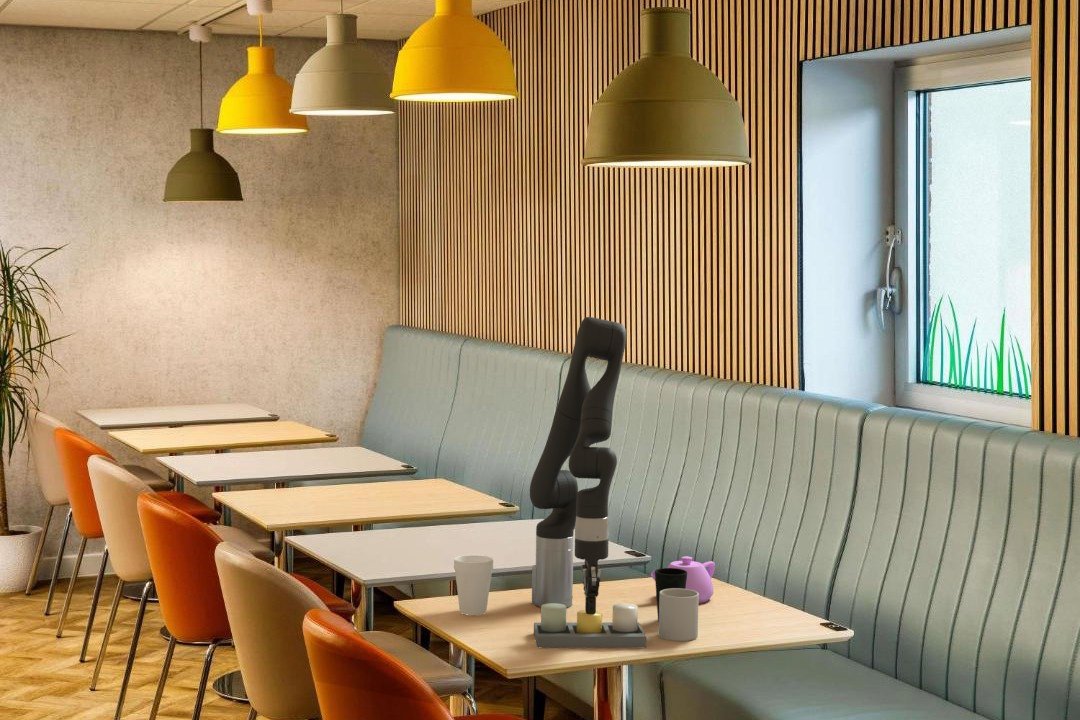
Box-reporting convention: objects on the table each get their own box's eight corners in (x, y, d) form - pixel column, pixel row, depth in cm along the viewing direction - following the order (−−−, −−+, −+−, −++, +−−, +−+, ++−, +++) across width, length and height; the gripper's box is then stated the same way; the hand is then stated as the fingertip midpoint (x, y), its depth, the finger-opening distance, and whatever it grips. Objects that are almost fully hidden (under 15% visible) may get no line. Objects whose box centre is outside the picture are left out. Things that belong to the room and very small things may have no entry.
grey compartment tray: (537, 647, 299) (537, 636, 299) (533, 633, 311) (533, 622, 311) (646, 647, 300) (646, 636, 300) (638, 633, 312) (638, 622, 312)
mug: (670, 642, 305) (671, 598, 304) (650, 632, 313) (651, 589, 313) (712, 638, 309) (713, 594, 308) (691, 628, 318) (692, 585, 317)
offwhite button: (613, 631, 303) (614, 609, 303) (610, 625, 308) (611, 603, 308) (639, 631, 303) (639, 609, 303) (635, 625, 309) (636, 603, 309)
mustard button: (577, 638, 302) (578, 616, 302) (575, 632, 308) (575, 610, 308) (602, 638, 303) (603, 616, 303) (600, 632, 308) (600, 610, 308)
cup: (684, 626, 319) (685, 575, 318) (651, 624, 320) (652, 573, 320) (687, 618, 326) (688, 569, 326) (655, 616, 328) (656, 567, 327)
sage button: (541, 631, 302) (542, 609, 302) (540, 625, 307) (540, 603, 307) (567, 631, 302) (567, 609, 302) (564, 625, 308) (565, 603, 308)
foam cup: (483, 618, 323) (484, 564, 322) (447, 615, 326) (448, 561, 325) (497, 609, 332) (498, 556, 331) (462, 606, 335) (463, 553, 334)
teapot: (635, 597, 347) (636, 556, 346) (696, 589, 358) (697, 548, 357) (668, 609, 335) (669, 566, 335) (731, 600, 346) (732, 558, 345)
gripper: (612, 542, 298) (610, 620, 299) (604, 530, 311) (603, 606, 312) (577, 542, 297) (576, 620, 298) (572, 530, 310) (570, 606, 311)
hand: (590, 613), depth 305 cm, fingers closed
